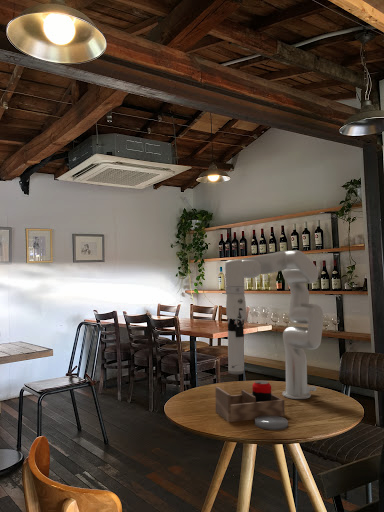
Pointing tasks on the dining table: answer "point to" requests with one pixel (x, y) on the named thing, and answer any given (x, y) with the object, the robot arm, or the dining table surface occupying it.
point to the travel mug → (235, 351)
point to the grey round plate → (271, 422)
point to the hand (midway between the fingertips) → (235, 335)
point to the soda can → (261, 391)
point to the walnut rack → (246, 406)
